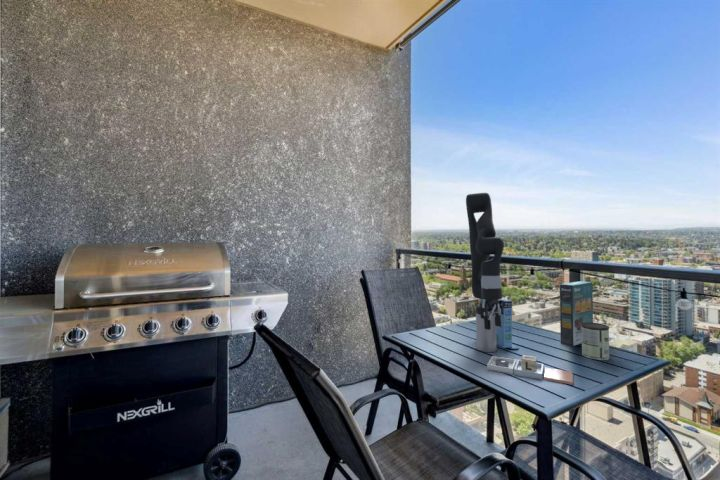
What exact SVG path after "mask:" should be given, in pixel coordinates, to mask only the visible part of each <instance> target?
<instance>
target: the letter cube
mask: <svg viewBox="0 0 720 480" xmlns="http://www.w3.org/2000/svg"><path fill="white" fill-rule="evenodd" d="M520 360H521V366H522V370H525V371H531V372H536V371H537V363H538V362H537V357H536V356H532V355H531V356H530V355H524V354H522V356H521V358H520Z"/></svg>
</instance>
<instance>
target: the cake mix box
mask: <svg viewBox="0 0 720 480" xmlns="http://www.w3.org/2000/svg"><path fill="white" fill-rule="evenodd" d="M593 290H594V289H593V281H582V280H580V281H572V282H565V283H560V284H559V309H560V310H559V315H560V317H559V319H560V320H559V321H560V322H559V323H560V325H559V328H560V344H562V345H568V346H572V347H574V346H577V345H580V344H582V326H581V323H586V322H590V323H594V305H593V304H594V301H593V300H594V299H593V298H594V297H593V296H594V295H593V293H594V291H593Z"/></svg>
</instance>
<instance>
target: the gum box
mask: <svg viewBox="0 0 720 480" xmlns="http://www.w3.org/2000/svg"><path fill="white" fill-rule="evenodd" d="M499 300H503V310H504V314H503V315H502V317H501V326H497V346H499V347H501V348H503V349H507V348H509V349H510V348H512V347H513V301H512V300H510V299H505V298H502V299H499ZM480 301H481V302H480V304H481V303H485V299H480Z"/></svg>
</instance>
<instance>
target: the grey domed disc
mask: <svg viewBox="0 0 720 480" xmlns="http://www.w3.org/2000/svg"><path fill="white" fill-rule="evenodd" d="M496 366H502V367H509V361H507V360H504V359H496Z"/></svg>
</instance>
